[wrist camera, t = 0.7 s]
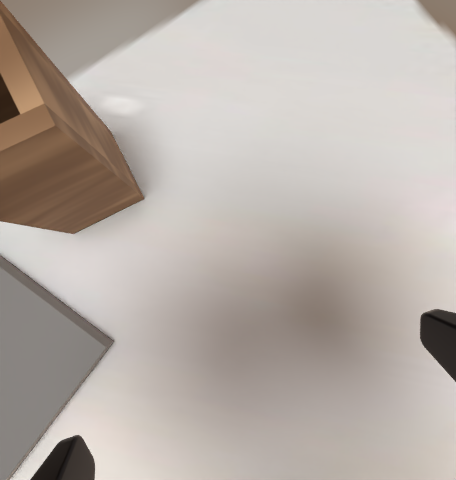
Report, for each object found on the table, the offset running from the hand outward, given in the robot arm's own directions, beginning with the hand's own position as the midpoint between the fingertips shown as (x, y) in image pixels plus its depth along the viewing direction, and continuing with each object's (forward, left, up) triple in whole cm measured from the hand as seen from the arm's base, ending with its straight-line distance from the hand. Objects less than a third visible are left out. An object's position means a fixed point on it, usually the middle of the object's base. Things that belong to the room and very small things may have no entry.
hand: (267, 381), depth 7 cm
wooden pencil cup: (+9, +11, -15) cm, 21 cm away
